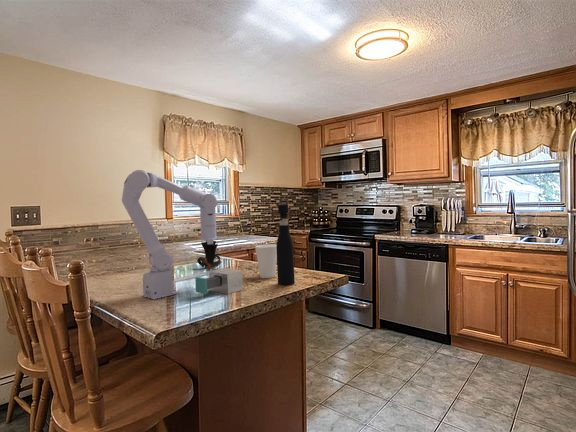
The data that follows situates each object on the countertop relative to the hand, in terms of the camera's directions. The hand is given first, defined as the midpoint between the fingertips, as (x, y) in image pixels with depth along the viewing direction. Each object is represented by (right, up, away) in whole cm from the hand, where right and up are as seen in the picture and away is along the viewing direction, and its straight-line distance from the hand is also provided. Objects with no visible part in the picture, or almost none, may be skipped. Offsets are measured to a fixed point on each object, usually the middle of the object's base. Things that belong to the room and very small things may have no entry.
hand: (209, 261), depth 131 cm
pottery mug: (-9, -9, +38) cm, 40 cm away
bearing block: (+7, -10, -5) cm, 13 cm away
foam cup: (+21, -9, +15) cm, 27 cm away
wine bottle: (+29, -9, +1) cm, 30 cm away
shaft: (+3, -8, -11) cm, 14 cm away
